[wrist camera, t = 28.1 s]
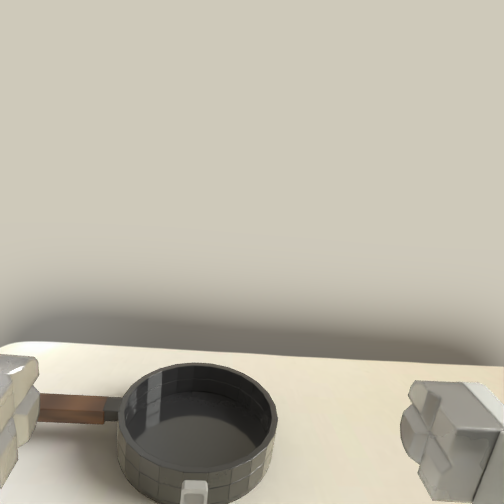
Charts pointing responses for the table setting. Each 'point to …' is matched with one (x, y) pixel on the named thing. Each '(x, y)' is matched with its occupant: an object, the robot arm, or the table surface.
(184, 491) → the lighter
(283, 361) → the table surface
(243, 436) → the pan
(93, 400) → the pan handle
